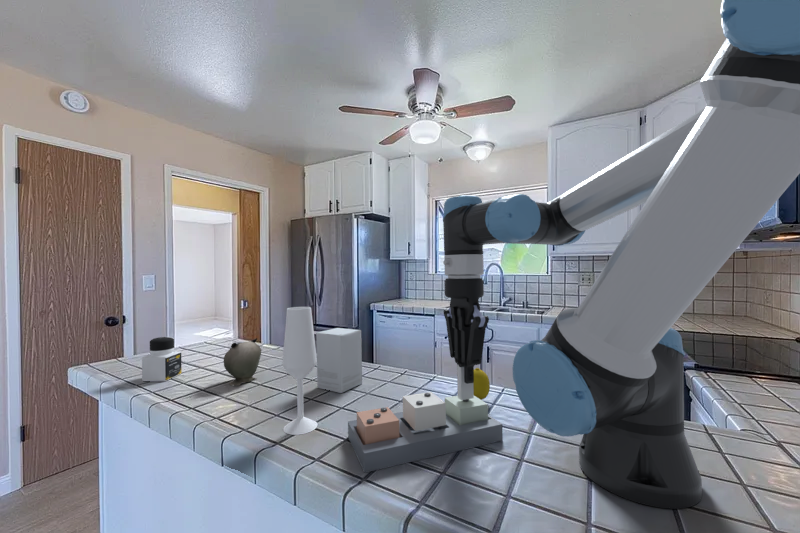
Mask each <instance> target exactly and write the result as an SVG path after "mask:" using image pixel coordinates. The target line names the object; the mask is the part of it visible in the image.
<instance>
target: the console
mask: <svg viewBox="0 0 800 533" xmlns="http://www.w3.org/2000/svg"><path fill="white" fill-rule="evenodd" d="M393 414H394V415H395V416H396V417H397V418H398V419H399V438H396V439H391V440H386V441H381V442H376V443H371V444H366V445H363V444H362V442H361V440H360V438H359V436H358V434H357V419H354V420H349V421H348V420H347V437H348V441H349V442H350V444H351V446H352V449H353V450H354V453H355V456H356V457H357V459H358V461H359V463H360V467H361V469H362V471H363V473H368V472H372V471H378V470H381V469H382V470H383V469H386V468H391V467H394V466H398V465H399V466H400V465H403V464H409V463H411V462H416V461H421V460H424V459H430V458H434V457H438V456H442V455H443V456H444V455H446V454H450V453H454V452H455V453H456V452H459V451H465V450H468V449H473V448H476V447H480V446H486V445H489V444H493V443H498V442H502V441H503V440H504V438H503V434H504V433H503V431H504V430H503V423H502V422H500V421H498V420H497V419H496V418H494V417H492V416H491V415H489V414H488V420H484V421H479V422H474V423H469V424H465V425H458V424H457V423H456V422H455V421H453V420H452V419H451V418H450V417H449V416H447V415H446V425H444V426H439V427H434V428H429V429H424V430H419V431H415V430H414V429H413V428H412V427H411V426H410V425H409V423H408V422H407V421H406V420H405V419H404V418H403V411H400V412H393Z"/></svg>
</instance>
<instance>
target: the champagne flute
mask: <svg viewBox="0 0 800 533" xmlns="http://www.w3.org/2000/svg"><path fill="white" fill-rule="evenodd" d="M312 313H313V312H312V307H311V306H292V307H287V308H286V315H285V316H286V318H285V327H284V328H285V329H284V339H283V350H282V351H283V352H282V363H281V364H282V367H283V369H284V370H285V371H286V373H287V374H288V375H289V376H291V377H292V378H294V379H296V396H297V399H296V400H297V404H296V405H297V408H296V409H297V417H296V418H295V419H292V421H290V422H288V423H287V424H286V425H284V427H283V429H282V430H283V432H284V433H285V434H287V435H293V436H294V435H295V436H296V435H304V434H308V433H310V432H313V431H314V430H315V429H317V427H318V422H317V421H315V420H314V419H311V418H309V417H305V416H304V378H306V377H308V375H310V373H311V372H312V371H313V370H314V368H315V367H316V366H317V347H316V338H315V331H314V330H315V329H314V323H313V322H314V320H313V315H312Z"/></svg>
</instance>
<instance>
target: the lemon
mask: <svg viewBox="0 0 800 533" xmlns="http://www.w3.org/2000/svg"><path fill="white" fill-rule="evenodd" d="M490 386H491V385H490V380H489V377H488V375H487V373H486V372H485V371H484V370H482V369H481V368H479V367H476V368H474V382H473V388H474V396H476V397H477V398H479V399H480V400H482V401H483V400H484V399H486V398H487V397H488V395H489V394H490Z"/></svg>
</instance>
